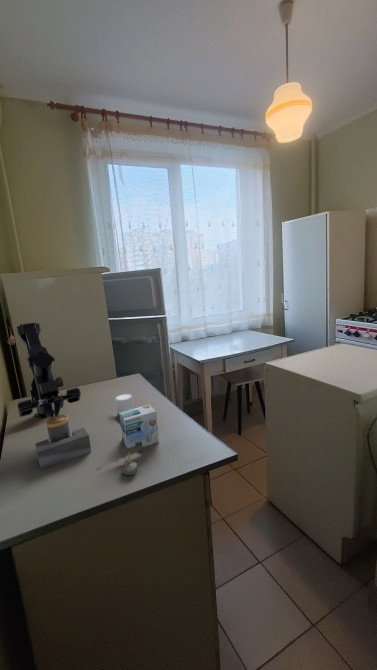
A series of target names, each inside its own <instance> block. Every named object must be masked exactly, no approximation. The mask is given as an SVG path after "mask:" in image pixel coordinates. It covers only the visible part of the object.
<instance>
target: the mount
mask: <svg viewBox="0 0 377 670" xmlns="http://www.w3.org/2000/svg"><path fill="white" fill-rule="evenodd" d="M71 435H72V436H71V437H69V438H66V439H63V440H60V441H57V442H54V443H51V444H50V440H49V438H47V439H44V440H41V441H38V442H35V443H34V445H35V450H36V455H37V459H38V460H37V461H38V464H39V469H40V471H43V470H46V469H49V468H52V467H54V466H57V465H60V464H63V463H64V462H67V461H70V460H73V459H76V458H78V457H81V456H83V455H86V454H89V453H91V452H92V447H91V440H90V435H89V433H88V431H87V430H86V429H85V427H80V428H78V429H74V430H71Z"/></svg>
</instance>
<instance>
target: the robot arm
mask: <svg viewBox="0 0 377 670" xmlns="http://www.w3.org/2000/svg"><path fill="white" fill-rule="evenodd" d="M16 332H17V333H16V334H17V336H18V337H19V338H20V342H22V343H23V344H24V345H25V346H26V350H27V356H28V357H27V358H26V361H27V362H26V363H27V366H28V367H27V368H29V369H30V371H31V375H32V381H31V383H30V384H31V385H30V389H29V397H30V398H28V399H26V400H22V401H21V400H20V401H19V402H17V409H18V416H19V417H21V418H22V417H26V416H30V415H31V414H32V413H33V412H34V410H33V409H36V413H34V414H33V416H34V417H38V418H41V419H45V418H47V419H49V418H51V417H53V416H57V415H60V411H61V409H62V408H64V403H65V402H64V401H67V403H69V404H73V403H76V402H78V401H80V400H81V390H80V388H79V387H73V388H69V389H66V392H65V393H64V394H61V395H59V394H60V390H59V388H63V387H64V380H63V377H62V376H59V377H55V378H54V374H53V370H54V362H55V361H56V360H55V357H54V356H53V355H52V354H51V353H49V352H48V349H47V348H46V347H45V346H43V345H42V342H41V339H40V333H41V332H42V331H41V325H40V323H38V322H28V323H20V324H18V325H17V326H16Z"/></svg>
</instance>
